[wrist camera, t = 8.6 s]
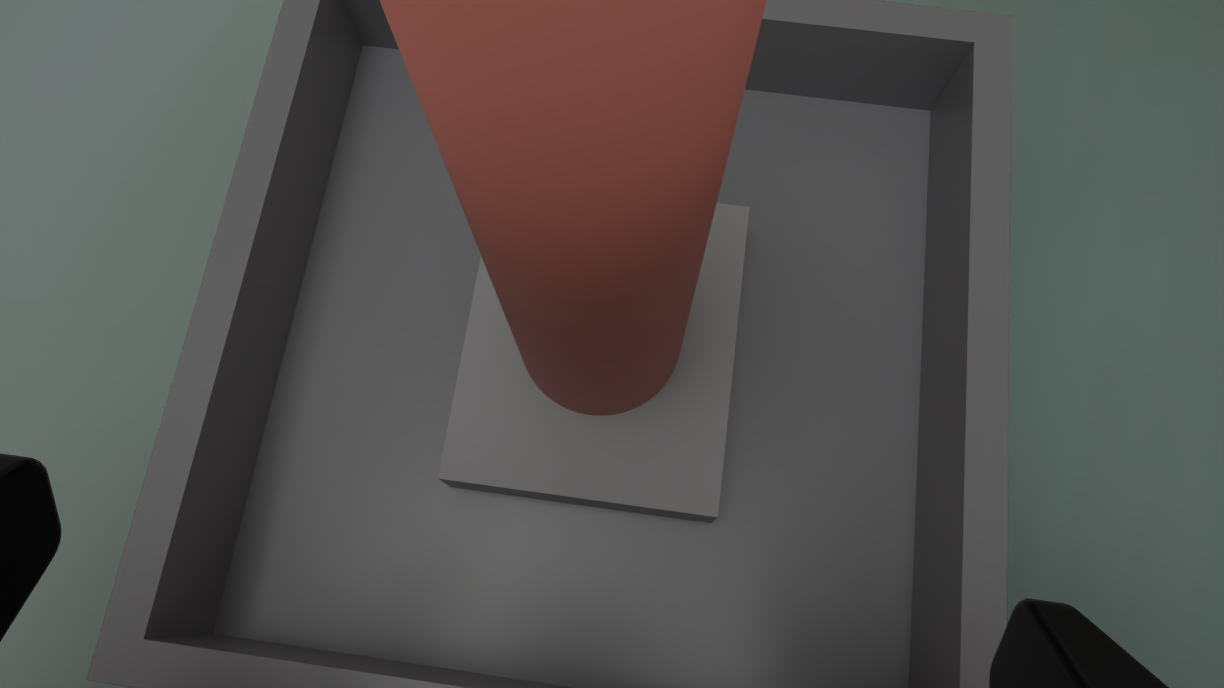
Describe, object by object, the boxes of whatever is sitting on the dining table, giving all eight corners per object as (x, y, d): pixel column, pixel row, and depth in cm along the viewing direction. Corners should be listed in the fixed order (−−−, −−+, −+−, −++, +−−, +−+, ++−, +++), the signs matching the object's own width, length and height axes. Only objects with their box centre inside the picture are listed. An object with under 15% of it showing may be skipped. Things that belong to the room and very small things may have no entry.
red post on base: (711, 523, 16) (1178, 128, 3) (450, 486, 17) (-334, -45, 3) (740, 231, 18) (1119, -915, 4) (504, 202, 18) (167, -973, 5)
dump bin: (933, 779, 16) (1005, 820, 13) (180, 665, 16) (86, 680, 13) (953, 101, 20) (1011, 15, 17) (346, 32, 20) (301, -63, 17)
